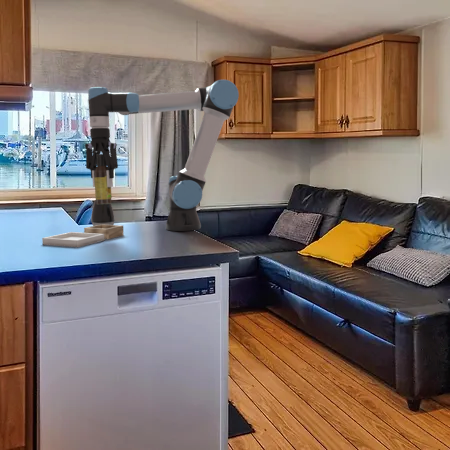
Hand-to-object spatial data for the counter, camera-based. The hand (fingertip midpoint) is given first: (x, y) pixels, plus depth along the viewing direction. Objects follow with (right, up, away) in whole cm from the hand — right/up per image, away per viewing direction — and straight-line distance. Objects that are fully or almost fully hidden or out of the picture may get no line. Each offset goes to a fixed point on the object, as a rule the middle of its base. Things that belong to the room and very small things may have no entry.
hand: (102, 186), depth 213 cm
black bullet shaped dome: (-5, -17, +23) cm, 30 cm away
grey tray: (-8, -22, -11) cm, 26 cm away
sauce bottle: (0, -7, +1) cm, 7 cm away
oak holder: (0, -20, +3) cm, 20 cm away
